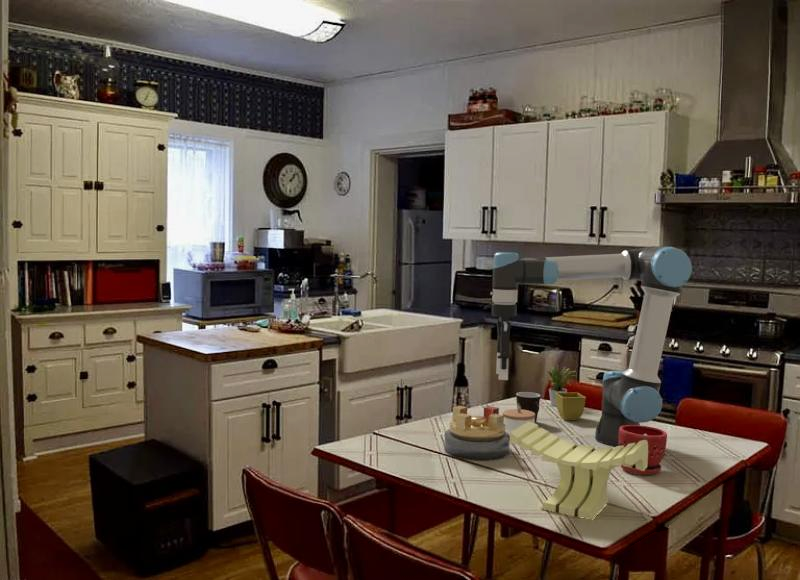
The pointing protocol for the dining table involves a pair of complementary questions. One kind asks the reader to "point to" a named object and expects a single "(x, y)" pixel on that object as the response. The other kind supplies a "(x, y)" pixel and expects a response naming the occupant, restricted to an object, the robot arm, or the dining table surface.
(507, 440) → the base
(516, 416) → the lidded jar
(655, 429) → the plant pot
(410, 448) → the dining table surface
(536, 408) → the coffee mug
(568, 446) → the slatted curved stool
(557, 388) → the house plant
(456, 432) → the ring nut
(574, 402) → the flower pot
